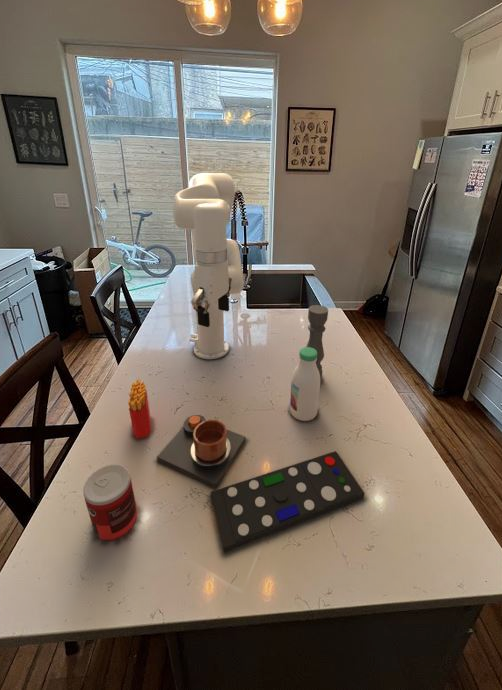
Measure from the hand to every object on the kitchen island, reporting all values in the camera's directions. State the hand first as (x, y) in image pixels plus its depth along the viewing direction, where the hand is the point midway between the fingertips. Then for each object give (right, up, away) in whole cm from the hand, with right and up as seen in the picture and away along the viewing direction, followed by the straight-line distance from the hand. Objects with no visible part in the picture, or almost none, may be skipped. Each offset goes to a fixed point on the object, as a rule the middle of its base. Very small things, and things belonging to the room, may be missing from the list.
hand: (214, 317), depth 87 cm
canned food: (-16, -38, -23) cm, 47 cm away
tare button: (-4, -27, -3) cm, 28 cm away
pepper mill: (+29, -22, +19) cm, 40 cm away
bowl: (+1, -29, -11) cm, 31 cm away
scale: (-2, -32, -8) cm, 33 cm away
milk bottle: (+24, -27, +5) cm, 37 cm away
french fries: (-18, -29, -2) cm, 34 cm away
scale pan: (+1, -30, -11) cm, 32 cm away
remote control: (+18, -37, -18) cm, 45 cm away
